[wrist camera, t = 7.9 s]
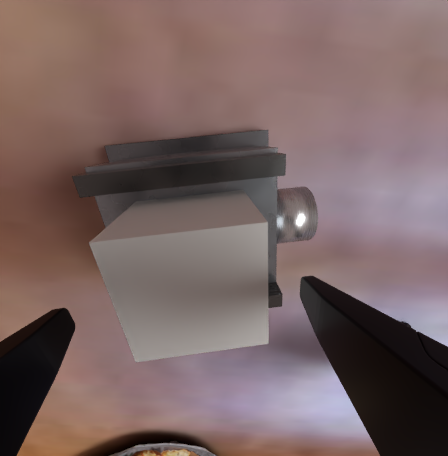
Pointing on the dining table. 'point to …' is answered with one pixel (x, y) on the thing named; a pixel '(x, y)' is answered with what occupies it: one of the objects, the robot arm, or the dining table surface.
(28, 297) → the dining table surface
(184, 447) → the food plate
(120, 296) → the plain white cube
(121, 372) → the dining table surface
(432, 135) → the dining table surface
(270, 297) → the motor housing
